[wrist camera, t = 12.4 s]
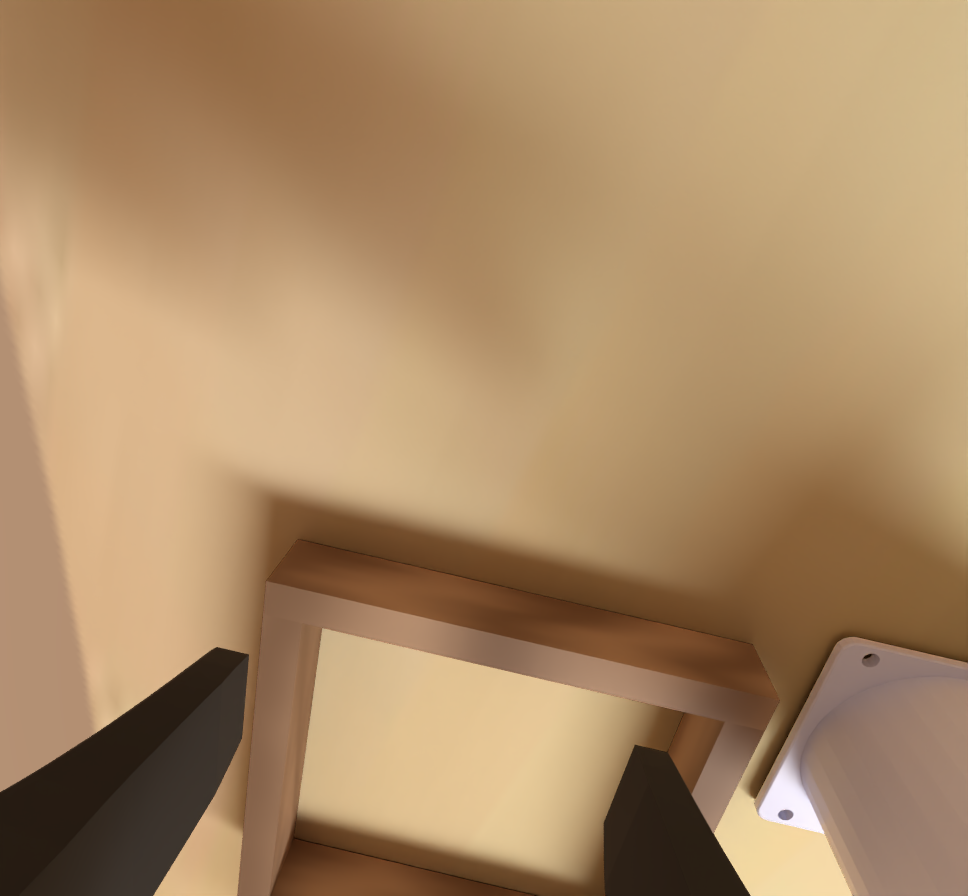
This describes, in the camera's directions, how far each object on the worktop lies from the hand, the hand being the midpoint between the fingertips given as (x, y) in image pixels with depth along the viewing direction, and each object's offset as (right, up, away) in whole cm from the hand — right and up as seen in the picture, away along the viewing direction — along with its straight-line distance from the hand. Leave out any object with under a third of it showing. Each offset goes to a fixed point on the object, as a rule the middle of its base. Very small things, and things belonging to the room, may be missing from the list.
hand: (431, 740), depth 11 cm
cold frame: (+1, -6, +12) cm, 14 cm away
